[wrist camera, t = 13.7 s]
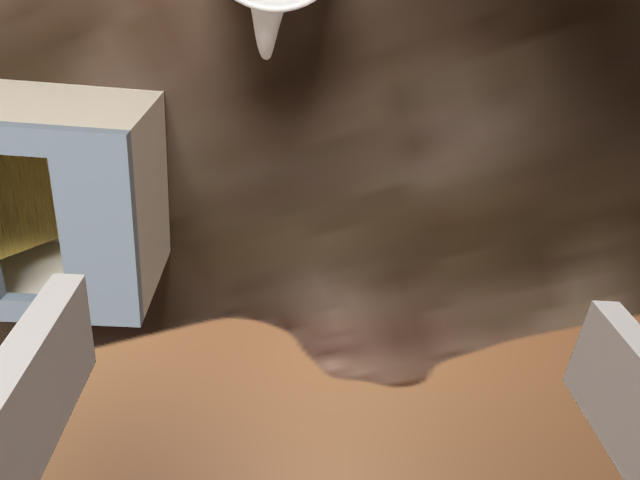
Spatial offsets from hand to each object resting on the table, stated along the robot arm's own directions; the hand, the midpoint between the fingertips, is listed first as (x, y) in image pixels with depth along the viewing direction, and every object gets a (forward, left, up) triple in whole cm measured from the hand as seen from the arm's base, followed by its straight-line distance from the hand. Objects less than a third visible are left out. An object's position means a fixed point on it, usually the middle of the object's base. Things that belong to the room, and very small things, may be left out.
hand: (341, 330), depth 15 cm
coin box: (+9, -18, -32) cm, 38 cm away
